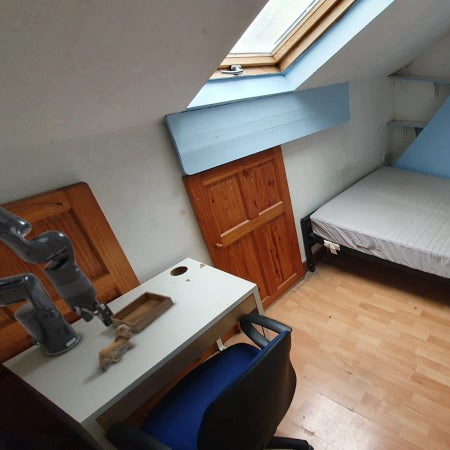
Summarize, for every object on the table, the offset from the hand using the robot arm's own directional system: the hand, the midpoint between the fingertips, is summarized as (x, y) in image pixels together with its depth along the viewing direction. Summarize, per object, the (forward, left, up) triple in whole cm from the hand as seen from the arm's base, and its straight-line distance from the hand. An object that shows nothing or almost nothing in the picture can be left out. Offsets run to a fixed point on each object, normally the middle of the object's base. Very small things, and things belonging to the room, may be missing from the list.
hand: (100, 322), depth 106 cm
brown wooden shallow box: (-9, +17, -16) cm, 25 cm away
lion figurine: (0, 0, -17) cm, 17 cm away
